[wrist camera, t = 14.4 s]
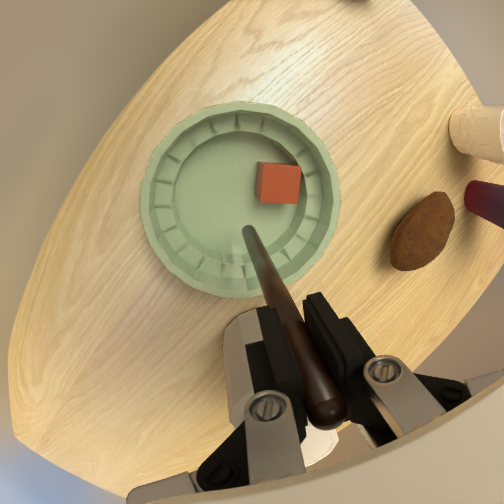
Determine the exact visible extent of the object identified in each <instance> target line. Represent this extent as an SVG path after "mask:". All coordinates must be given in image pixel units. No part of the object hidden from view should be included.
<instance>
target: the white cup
mask: <svg viewBox="0 0 504 504" xmlns="http://www.w3.org/2000/svg"><path fill="white" fill-rule="evenodd" d="M449 132H450V137H451V140H452V143H453V145H454V146H455V148H456V149H457V150H458V151H459V152H461V153H464V154H467V155H471V156H474V157H476V158H480V159H484V160H488V161H490V162H494V163H498V164H502V165H504V105H485V106H473V107H470V108H460V109H456V110H455V111H454V112H453V113H452V115H451V117H450V122H449Z"/></svg>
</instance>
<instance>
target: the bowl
mask: <svg viewBox="0 0 504 504" xmlns="http://www.w3.org/2000/svg"><path fill="white" fill-rule="evenodd" d="M257 161H261V162H274V163H285V164H293V165H297V166H301V167H302V169H301V179H300V189H299V198H298V204H281V203H263V202H260V201H259V200H258V199H257V198H256V197H255V185H256V172H257ZM340 205H341V195H340V187H339V179H338V172H337V169H336V167H335V165H334V162H333V160H332V158H331V156H330V154H329V152H328V150H327V148H326V146H325V144H324V142H323V141H322V140H321V139H320V138H319V137H318V136H317V135H316V134H315V133H314V132H313V131H312V130H311V129H310V128H309V127H308V126H307V125H306V124H305V123H304V122H303V121H302V120H301V119H299V118H297V117H295V116H293V115H291V114H289V113H287V112H285V111H283V110H281V109H279V108H277V107H275V106H272V105H267V104H260V103H253V102H245V101H235V102H230V103H225V104H220V105H215V106H210V107H206V108H204V109H202V110H200V111H198V112H197V113H195V114H193V115H192V116H190V117H188V118H187V119H185V120H183V121H182V122H180V123H178V124H177V125H175V126H174V127H173V129H172V130H171V131H170V132H169V133H168V134H167V136H166V137H165V138H164V139H163V140H162V141H161V143H160V144H159V145H158V146H157V147H156V149H155V150H154V152H153V154H152V156H151V159H150V161H149V164H148V166H147V169H146V171H145V174H144V177H143V179H142V183H141V206H140V214H141V219H142V222H143V226H144V229H145V232H146V235H147V239H148V242H149V244H150V246H151V248H152V249H153V250H154V252H155V253H156V255H157V256H158V258H159V259H160V260H161V262H162V263H163V265H164V266H165V267H166V269H167V270H169V271H170V272H171V273H173V274H174V275H175V276H177V277H178V278H179V279H181V280H182V281H183V282H185V283H186V284H187V285H189V286H190V287H192V288H195V289H198V290H200V291H203V292H206V293H209V294H212V295H215V296H218V297H228V298H252V297H256V296H260V295H263V292H262V289H261V286H260V284H259V281H258V278H257V275H256V272H255V270H254V267H253V264H252V261H251V258H250V256H249V253H248V250H247V247H246V244H245V241H244V239H243V236H242V228H243V227H244V226H246V225H252V226H253V227H254V228H255V230H256V231H257V233H258V235H259V237H260V239H261V241H262V243H263V245H264V246H265V248H266V250H267V252H268V254H269V256H270V258H271V260H272V261H273V263H274V265H275V267H276V269H277V271H278V273H279V275H280V277H281V278H282V280H283V282H284V284H285V286H287V285H289V284H291V283H293V282H294V281H296V280H298V279H300V278H301V277H302V276H303V275H304V274H305V273H306V272H307V271H308V270H309V269H310V268H311V267H312V266H313V265H314V264H315V263H316V262H317V261H318V260H319V259H320V258H321V257H322V255H323V254H324V252H325V250H326V248H327V246H328V244H329V242H330V240H331V238H332V236H333V234H334V233H335V230H336V227H337V222H338V216H339V211H340Z"/></svg>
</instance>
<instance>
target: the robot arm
mask: <svg viewBox="0 0 504 504" xmlns="http://www.w3.org/2000/svg"><path fill="white" fill-rule="evenodd" d="M256 311H257V316H258V320H259V324H260V329H261V333H262V337H263V340H262V341H258V342H253V343H249V344H245V349H246V355H247V360H248V365H249V370H250V375H251V380H252V385H253V390H254V395H253V396H252V397H251V398H250V399H249V400H248V401H247V403H246V405H245V409H244V415H245V420H244V421H243V422H242V423H241V424H240V425H239V426H238V427H237V428H236V430H235V431H234V432H233V433H232V434H231V435H230V436H229V437H228V438H227V439H226V440H225V441H224V442H223V443H222V444H221V445H220V446H219V447H218V448H217V449H216V450H215V451H214V452H213V453H212V454H211V455H210V456H209V457H208V458H207V459H206V460H205V461H204V462H203V463H202V464H201V466H200V467H199V468H198V470H196V471H194V472H191V473H188V472H187V471H186V472H183V473H181V474H178V475H175V476H172V477H169V478H165V479H162V480H159V481H156V482H152V483H149V484H145V485H142V486H138V487H136V488H134V489H132V490H131V491H130V492H129V493H128V496H127V498H126V504H504V369H501V370H497V371H494V372H491V373H488V374H484V375H481V376H478V377H474V378H470V379H467V380H465V381H464V383H461V382H458V381H455V380H449V379H443V378H437V377H432V376H426V375H420V374H415V373H412V372H411V371H410V369H409V368H408V367H407V366H406V365H405V364H404V363H403V362H402V361H401V360H400V359H399V358H397V357H394V356H391V355H380V356H376V355H375V354H374V353H373V351H372V350H371V348H370V347H369V346H368V344H367V343H366V341H365V340H364V339H363V337H362V336H361V334H360V333H359V332H358V330H357V329H356V327H355V326H354V325H353V323H352V322H351V321H350V319H349V318H347V317H345V318H342V319H339V318H338V316H337V315H336V313H335V312H334V311H333V309H332V308H331V306H330V305H329V303H328V302H327V300H326V299H325V298H324V296H323V295H322V293H321V292H317V293H314V294H310V295H307V297H306V299H305V300H303V311H304V319H305V325H306V327H307V329H308V331H309V333H310V334H311V336H312V338H313V340H314V342H315V344H316V346H317V348H318V350H319V352H320V354H321V356H322V358H323V360H324V362H325V364H326V366H327V368H328V370H329V372H330V374H331V375H332V377H333V379H334V381H335V383H336V385H337V387H338V389H339V390H340V392H341V394H342V396H343V398H344V400H345V402H346V405H347V416H346V419H345V420H344V422H346V421H349V420H350V421H351V422H353V423H357V424H358V427H359V429H360V431H361V433H362V434H363V436H364V438H365V439H366V441H367V443H368V444H369V446H370V448H371V449H372V450H371V451H369V452H366V453H364V454H361V455H358V456H356V457H353V458H350V459H348V460H345V461H342V462H339V463H336V464H333V465H330V466H327V467H323V468H320V469H317V470H314V471H310V472H307V473H306V469H305V464H304V459H303V455H302V450H301V446H300V445H301V443H302V442H303V441H304V439H305V438H306V436H307V435H306V426H308V420H307V415H306V412H305V409H304V401H305V394H304V386H303V379H302V374H301V371H300V368H299V365H298V363H297V360H296V358H295V355H294V353H293V350H292V347H291V345H290V342H289V340H288V337H287V335H286V332H285V330H284V327H283V325H282V322H281V320H280V317H279V314H278V312H277V309H276V307H274V308H270V305H267V306H263V307H259V308H256Z"/></svg>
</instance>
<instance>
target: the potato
mask: <svg viewBox="0 0 504 504" xmlns="http://www.w3.org/2000/svg"><path fill="white" fill-rule="evenodd" d="M454 221H455V215H454V208H453V205H452V203H451V201H450V199H449V197H448V196H447V194H446V193H445V192H433V193H431V194H430V195H428V196H427V197H425V198H424V199H423V200H421V201H420V202H419V203H418V204H417V205H416V206H415V207H414V208H413V209H412V210H411V211H410V212H409V213H408V214H407V216H406V217H405V218H404V219H403V220H402V222H401V223H400V224H399V225H398V227H397V228H396V230H395V232H394V234H393V237H392V241H391V247H390V263H391V264H392V266H393V267H394V268H396V269H397V270H400V271H411V270H416V269H419V268H421V267H424V266H425V265H427V264H428V263H430V262H431V261H432V260H434V259H435V258H436V257H437V256H438V255H439V254H440V252H441V251H442V250H443V249H444V247H445V245H446V242H447V240H448V237H449V234H450V232H451V230H452V227H453V224H454Z"/></svg>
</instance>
